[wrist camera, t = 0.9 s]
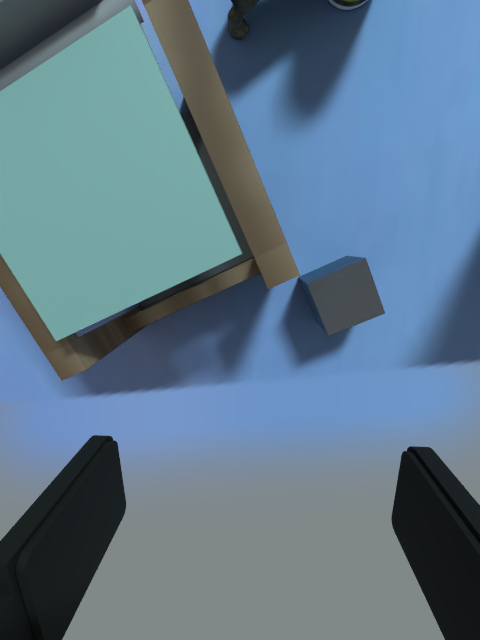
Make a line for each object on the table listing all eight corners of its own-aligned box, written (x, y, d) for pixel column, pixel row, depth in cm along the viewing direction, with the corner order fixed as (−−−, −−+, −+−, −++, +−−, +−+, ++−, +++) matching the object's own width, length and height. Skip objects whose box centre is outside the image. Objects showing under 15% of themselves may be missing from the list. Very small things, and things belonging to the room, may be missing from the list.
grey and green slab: (78, -129, 13) (6, -283, 9) (246, 251, 17) (244, 253, 13) (-112, 18, 15) (-238, -60, 11) (78, 330, 19) (34, 351, 15)
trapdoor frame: (205, 80, 24) (160, -69, 13) (281, 263, 28) (299, 275, 16) (46, 173, 27) (-110, 118, 15) (135, 329, 31) (61, 380, 19)
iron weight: (346, 255, 28) (365, 258, 23) (363, 301, 29) (384, 313, 24) (298, 277, 28) (307, 283, 24) (316, 321, 30) (328, 336, 25)
